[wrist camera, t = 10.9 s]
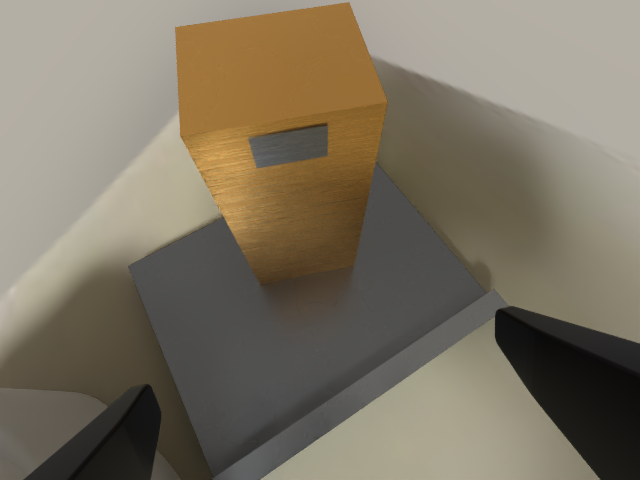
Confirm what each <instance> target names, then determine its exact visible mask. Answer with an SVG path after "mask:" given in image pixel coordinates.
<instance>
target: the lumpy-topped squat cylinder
mask: <svg viewBox="0 0 640 480" xmlns="http://www.w3.org/2000/svg"><path fill="white" fill-rule="evenodd" d="M106 408H108V406H107V405H105V404H104V403H102V402H101V401H99V400H97V399H96V398H94V397H91V396H89V395H86V394H83V393H78V392H66V391H49V390H32V389H15V388H0V480H23V479H24V478H26V477H27V476H28V475H29V474H30V473H31V472H33V471H34V470H35V469H36V468H37V467H39V466H40V465H41V464H42V463H43V462H44V461H46V460H47V459H48V458H49V457H50V456H51V455H53V454H54V453H55V452H56V451H57V450H58V449H60V448H61V447H62V446H63V445H64V444H65V443H67V442H68V441H69V440H70V439H71V438H72V437H74V436H75V435H76V434H77V433H78V432H79V431H81V430H82V429H83V428H84V427H85V426H87V425H88V424H89V423H90V422H91V421H92V420H94V419H95V418H96V417H97V416H98V415H99V414H101V413H102V412H103V411H104V410H105V409H106ZM151 480H181V479H180V477H179V476H178V474H177V473H176V472H175V470H174V469H173V468H172V466H171V465H170V464H169V463H168V462H167V460H166V459H165V458H164V457H163V456H162V455H161V453H160V452H159V451H158V450H157V449H156V453H155V458H154V464H153V470H152V476H151Z"/></svg>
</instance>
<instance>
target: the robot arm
mask: <svg viewBox="0 0 640 480" xmlns="http://www.w3.org/2000/svg"><path fill="white" fill-rule="evenodd" d="M495 339H496V342H497V344H498V346H499V347H500V349H501V350H502V352H503V353H504V355H505V356H506V358H507V359H508V361H509V362H510V364H511V365H512V367H513V368H514V370H515V371H516V373H517V374H518V376H519V377H520V379H521V380H522V382H523V383H524V385H525V386H526V388H527V389H528V391H529V392H530V393H531V395H532V396H533V397H534V399H535V400H536V401H537V402H538V404H539V405H540V406H541V407H542V409H543V410H544V411H545V412H546V413H547V415H548V416H549V417H550V418H551V420H552V421H553V422H554V423H555V425H556V426H557V427H558V428H559V429H560V431H561V432H562V433H563V434H564V436H565V437H566V438H567V439H568V440H569V442H570V443H571V444H572V445H573V447H574V448H575V449H576V450H577V451H578V453H579V454H580V455H581V456H582V458H583V459H584V460H585V461H586V463H587V464H588V465H589V466H590V467H591V469H592V470H593V471H594V472H595V474H596V475H597V476H598V477H599V478H600V480H640V343H636V342H633V341H630V340H626V339H623V338H619V337H616V336H613V335H609V334H606V333H602V332H599V331H596V330H592V329H589V328H585V327H582V326H579V325H575V324H572V323H568V322H565V321H562V320H558V319H555V318H552V317H548V316H545V315H541V314H538V313H535V312H531V311H528V310H524V309H521V308H518V307H514V306H509V307H504V308H500V309H498V310H497V311H496V313H495ZM160 423H161V410H160V407H159V404H158V402H157V399H156V397H155V394H154V392H153V389H152V387H151V386H150V385H148V384H145V385H140V386H135V387H132V388H130V389H129V390H127V391H126V392H125V393H124V394H123V395H122V396H120V397H119V398H118V399H117V400H116V401H115V402H113V403H112V404H111V405H110V406H109V407H108V408H106V409H105V410H104V411H103V412H102V413H101V414H99V415H98V416H97V417H96V418H95V419H94V420H92V421H91V422H90V423H89V424H88V425H87V426H85V427H84V428H83V429H82V430H81V431H79V432H78V433H77V434H76V435H75V436H74V437H72V438H71V439H70V440H69V441H68V442H67V443H65V444H64V445H63V446H62V447H61V448H60V449H58V450H57V451H56V452H55V453H54V454H53V455H51V456H50V457H49V458H48V459H47V460H46V461H44V462H43V463H42V464H41V465H40V466H39V467H37V468H36V469H35V470H34V471H33V472H31V473H30V474H29V475H28V476H27V477H26V478H24V479H23V480H151V476H152V470H153V464H154V458H155V453H156V447H157V441H158V435H159V429H160Z"/></svg>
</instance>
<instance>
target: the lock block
mask: <svg viewBox="0 0 640 480" xmlns="http://www.w3.org/2000/svg"><path fill="white" fill-rule="evenodd" d="M175 32H176V54H177V74H178V95H179V117H180V136H181V138H182V140H183V142H184V144H185V146H186V148H187V149H188V151H189V153H190V155H191V157H192V159H193V161H194V162H195V164H196V166H197V168H198V170H199V172H200V174H201V176H202V177H203V179H204V181H205V183H206V185H207V187H208V189H209V190H210V192H211V194H212V196H213V198H214V200H215V202H216V204H217V205H218V207H219V209H220V211H221V213H222V215H223V217H224V218H225V220H226V222H227V224H228V226H229V228H230V230H231V232H232V233H233V235H234V237H235V239H236V241H237V243H238V245H239V246H240V248H241V250H242V252H243V254H244V256H245V258H246V259H247V261H248V263H249V265H250V267H251V269H252V271H253V273H254V274H255V276H256V278H257V280H258V282H259V284H263V283H268V282H273V281H278V280H283V279H288V278H293V277H298V276H303V275H308V274H313V273H318V272H323V271H328V270H333V269H338V268H344V267H349V266H354V265H355V260H356V255H357V251H358V246H359V241H360V236H361V231H362V226H363V221H364V216H365V211H366V207H367V202H368V197H369V192H370V187H371V182H372V177H373V172H374V168H375V163H376V158H377V153H378V148H379V143H380V138H381V133H382V128H383V124H384V119H385V114H386V109H387V104H388V101H387V98H386V96H385V93H384V91H383V88H382V85H381V83H380V80H379V78H378V75H377V73H376V70H375V68H374V65H373V62H372V60H371V57H370V55H369V52H368V50H367V47H366V44H365V42H364V39H363V37H362V34H361V32H360V29H359V26H358V24H357V22H356V19H355V16H354V14H353V11H352V9H351V6H350V3H342V4H335V5H328V6H321V7H314V8H307V9H300V10H293V11H286V12H279V13H272V14H265V15H258V16H250V17H244V18H236V19H229V20H223V21H215V22H209V23H202V24H194V25H187V26H180V27H175Z"/></svg>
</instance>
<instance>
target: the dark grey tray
mask: <svg viewBox="0 0 640 480" xmlns="http://www.w3.org/2000/svg"><path fill="white" fill-rule="evenodd" d="M128 268H129V270H130V273H131V275H132V278H133V280H134V283H135V285H136V288H137V290H138V293H139V295H140V297H141V300H142V302H143V305H144V307H145V310H146V312H147V315H148V317H149V320H150V322H151V325H152V327H153V330H154V332H155V335H156V337H157V340H158V342H159V345H160V347H161V350H162V352H163V355H164V357H165V360H166V362H167V364H168V367H169V369H170V372H171V374H172V377H173V379H174V382H175V384H176V387H177V389H178V392H179V394H180V397H181V399H182V402H183V404H184V407H185V409H186V412H187V414H188V417H189V419H190V422H191V424H192V427H193V429H194V431H195V434H196V436H197V439H198V441H199V444H200V446H201V449H202V451H203V454H204V456H205V459H206V461H207V464H208V466H209V469H210V471H211V474H212V476H213V479H211V480H260V479H261V478H263V477H264V476H266V475H267V474H269V473H270V472H271V471H273V470H274V469H276V468H277V467H279V466H280V465H281V464H283V463H284V462H286V461H287V460H289V459H290V458H291V457H293V456H294V455H296V454H297V453H299V452H300V451H302V450H303V449H304V448H306V447H307V446H309V445H310V444H312V443H313V442H314V441H316V440H317V439H319V438H320V437H322V436H323V435H325V434H326V433H327V432H329V431H330V430H332V429H333V428H335V427H336V426H337V425H339V424H340V423H342V422H343V421H345V420H346V419H347V418H349V417H350V416H352V415H353V414H355V413H356V412H358V411H359V410H360V409H362V408H363V407H365V406H366V405H368V404H369V403H370V402H372V401H373V400H375V399H376V398H378V397H379V396H381V395H382V394H383V393H385V392H386V391H388V390H389V389H391V388H392V387H393V386H395V385H396V384H398V383H399V382H401V381H402V380H404V379H405V378H406V377H408V376H409V375H411V374H412V373H414V372H415V371H416V370H418V369H419V368H421V367H422V366H424V365H425V364H426V363H428V362H429V361H431V360H432V359H434V358H435V357H437V356H438V355H439V354H441V353H442V352H444V351H445V350H447V349H448V348H449V347H451V346H452V345H454V344H455V343H457V342H458V341H460V340H461V339H462V338H464V337H465V336H467V335H468V334H470V333H471V332H472V331H474V330H475V329H477V328H478V327H480V326H481V325H482V324H484V323H485V322H487V321H488V320H490V319H491V318H493V317H494V316H495V313H496V311H497V310H498V309H500V308H504V307H508V305H507V304H506V302H505V301H504V300H503V299H502V298H501V297H500V295H499V294H498V293H497V292H496V291H495V290H494V289H493V290H491V291H490V292H488V293H486V292H485V291H484V289H483V288H482V287H481V286H480V285H479V283H478V282H477V281H476V280H475V279H474V278H473V276H472V275H471V274H470V273H469V272H468V270H467V269H466V268H465V267H464V266H463V264H462V263H461V262H460V261H459V260H458V259H457V257H456V256H455V255H454V254H453V253H452V251H451V250H450V249H449V248H448V247H447V246H446V244H445V243H444V242H443V241H442V240H441V238H440V237H439V236H438V235H437V234H436V232H435V231H434V230H433V229H432V228H431V227H430V225H429V224H428V223H427V222H426V221H425V219H424V218H423V217H422V216H421V215H420V213H419V212H418V211H417V210H416V209H415V208H414V206H413V205H412V204H411V203H410V202H409V200H408V199H407V198H406V197H405V196H404V194H403V193H402V192H401V191H400V190H399V189H398V187H397V186H396V185H395V184H394V183H393V181H392V180H391V179H390V178H389V177H388V175H387V174H386V173H385V172H384V171H383V170H382V168H381V167H380V166H379V165H378V164H377V162H376V163H375V168H374V172H373V177H372V182H371V187H370V192H369V197H368V202H367V207H366V211H365V216H364V221H363V226H362V231H361V236H360V241H359V246H358V251H357V255H356V260H355V265H354V266H349V267H344V268H338V269H333V270H328V271H323V272H318V273H313V274H308V275H303V276H298V277H293V278H288V279H283V280H278V281H273V282H268V283H263V284H259V282H258V280H257V278H256V276H255V274H254V273H253V271H252V269H251V267H250V265H249V263H248V261H247V259H246V258H245V256H244V254H243V252H242V250H241V248H240V246H239V245H238V243H237V241H236V239H235V237H234V235H233V233H232V232H231V230H230V228H229V226H228V224H227V222H226V220H225V218H222V219H220V220H218V221H216V222H214V223H212V224H210V225H208V226H206V227H204V228H202V229H200V230H198V231H196V232H194V233H192V234H190V235H188V236H186V237H184V238H182V239H180V240H178V241H176V242H174V243H173V244H171V245H169V246H167V247H165V248H163V249H161V250H159V251H157V252H155V253H153V254H151V255H149V256H147V257H145V258H143V259H141V260H139V261H137V262H135V263H133V264H131V265H129V266H128Z"/></svg>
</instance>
